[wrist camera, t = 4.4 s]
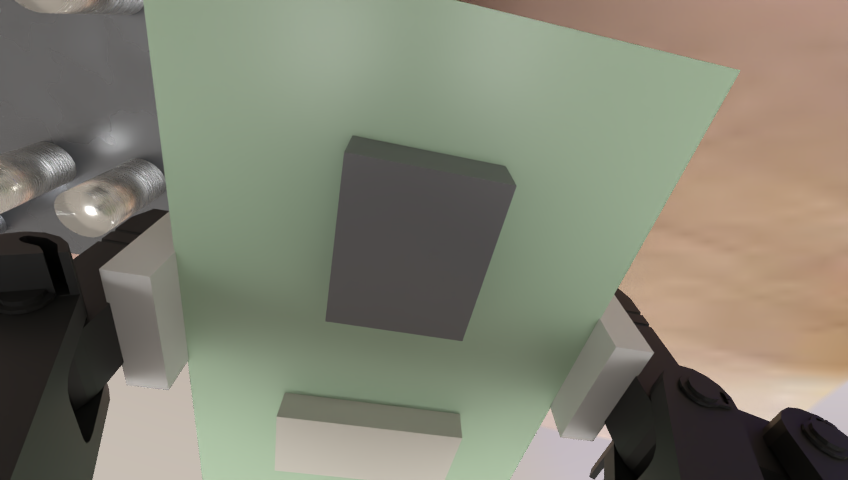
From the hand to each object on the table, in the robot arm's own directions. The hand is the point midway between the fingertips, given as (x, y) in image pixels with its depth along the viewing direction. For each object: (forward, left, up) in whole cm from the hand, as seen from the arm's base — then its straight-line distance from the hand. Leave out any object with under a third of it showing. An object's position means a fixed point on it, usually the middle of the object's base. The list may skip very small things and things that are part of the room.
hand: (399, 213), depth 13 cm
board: (0, 0, +3) cm, 3 cm away
